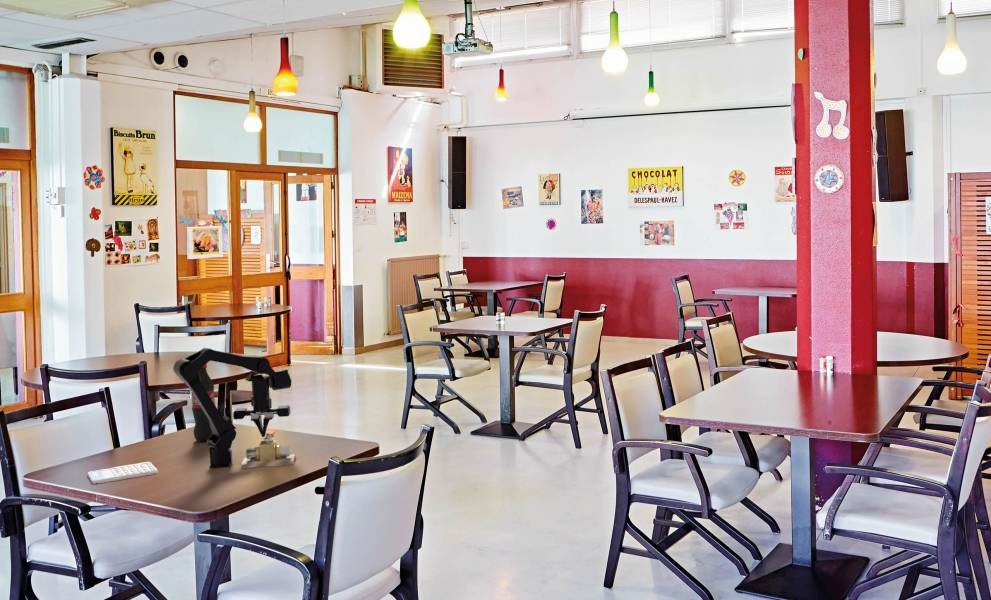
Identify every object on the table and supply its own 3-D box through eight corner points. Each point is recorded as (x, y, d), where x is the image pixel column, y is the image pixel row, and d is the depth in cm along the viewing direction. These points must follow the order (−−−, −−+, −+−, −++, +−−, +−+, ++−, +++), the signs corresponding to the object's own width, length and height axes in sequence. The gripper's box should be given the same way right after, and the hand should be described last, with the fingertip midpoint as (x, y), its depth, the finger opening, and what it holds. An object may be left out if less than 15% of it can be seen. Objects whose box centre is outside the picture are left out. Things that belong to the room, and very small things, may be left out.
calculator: (158, 474, 301) (158, 469, 301) (93, 485, 291) (92, 479, 291) (150, 465, 313) (150, 460, 313) (87, 476, 303) (86, 470, 302)
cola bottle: (199, 444, 339) (193, 364, 336) (190, 440, 345) (185, 361, 342) (221, 439, 344) (216, 361, 341) (212, 436, 351) (207, 358, 348)
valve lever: (271, 442, 308) (270, 438, 307) (263, 442, 307) (263, 439, 307) (275, 433, 320) (275, 430, 320) (267, 433, 320) (267, 430, 320)
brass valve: (246, 462, 306) (245, 445, 305) (248, 458, 311) (247, 441, 310) (289, 459, 308) (288, 442, 307) (290, 455, 313) (289, 439, 312)
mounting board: (241, 468, 304) (240, 464, 304) (245, 460, 313) (244, 457, 313) (293, 464, 306) (293, 461, 306) (295, 457, 315) (295, 454, 315)
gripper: (290, 386, 324) (293, 429, 326) (237, 389, 322) (239, 433, 324) (287, 392, 313) (290, 437, 315) (231, 395, 311) (234, 440, 313)
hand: (263, 436), depth 317 cm, fingers closed
